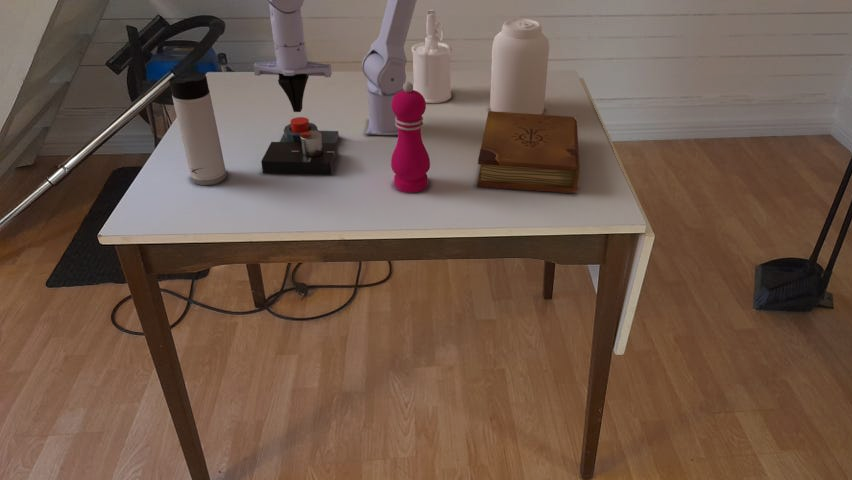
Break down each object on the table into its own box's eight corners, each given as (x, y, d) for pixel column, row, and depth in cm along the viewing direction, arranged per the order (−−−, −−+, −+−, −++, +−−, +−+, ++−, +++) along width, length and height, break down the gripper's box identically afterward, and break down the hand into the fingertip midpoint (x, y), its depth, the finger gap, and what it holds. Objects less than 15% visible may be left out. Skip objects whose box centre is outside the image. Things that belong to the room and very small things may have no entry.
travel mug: (195, 189, 129) (170, 84, 117) (189, 173, 134) (164, 71, 122) (230, 182, 132) (209, 78, 120) (223, 167, 136) (202, 66, 125)
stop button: (311, 126, 145) (310, 117, 144) (307, 134, 142) (306, 124, 141) (293, 126, 145) (292, 116, 144) (290, 133, 142) (288, 124, 141)
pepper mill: (415, 198, 129) (412, 93, 117) (384, 187, 132) (378, 84, 120) (437, 182, 134) (437, 80, 122) (407, 172, 137) (403, 72, 125)
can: (553, 108, 164) (561, 21, 153) (527, 126, 156) (533, 35, 144) (507, 96, 170) (511, 11, 158) (479, 113, 161) (482, 24, 149)
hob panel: (338, 154, 142) (337, 142, 140) (332, 175, 135) (330, 162, 134) (273, 153, 142) (271, 140, 140) (263, 173, 135) (261, 160, 133)
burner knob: (325, 147, 139) (323, 129, 136) (321, 156, 135) (319, 138, 133) (304, 147, 139) (302, 128, 136) (300, 156, 135) (298, 137, 133)
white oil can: (418, 86, 173) (416, 2, 161) (455, 90, 171) (456, 6, 160) (406, 103, 164) (403, 15, 153) (445, 107, 163) (445, 19, 151)
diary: (576, 194, 132) (580, 166, 129) (477, 187, 133) (478, 159, 130) (574, 141, 151) (577, 115, 147) (487, 135, 152) (488, 110, 148)
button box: (339, 137, 149) (337, 122, 147) (333, 152, 143) (332, 136, 141) (286, 136, 148) (284, 120, 146) (279, 151, 143) (276, 135, 141)
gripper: (245, 48, 130) (256, 117, 138) (324, 50, 130) (331, 119, 138) (254, 36, 135) (265, 103, 143) (330, 38, 136) (336, 104, 144)
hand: (298, 110), depth 141 cm, fingers closed
